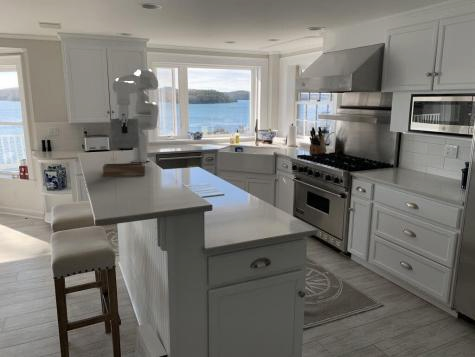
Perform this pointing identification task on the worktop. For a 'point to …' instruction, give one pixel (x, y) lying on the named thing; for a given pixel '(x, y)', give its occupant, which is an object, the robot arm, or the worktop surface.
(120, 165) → the u rest
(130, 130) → the hip flask
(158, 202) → the worktop surface
